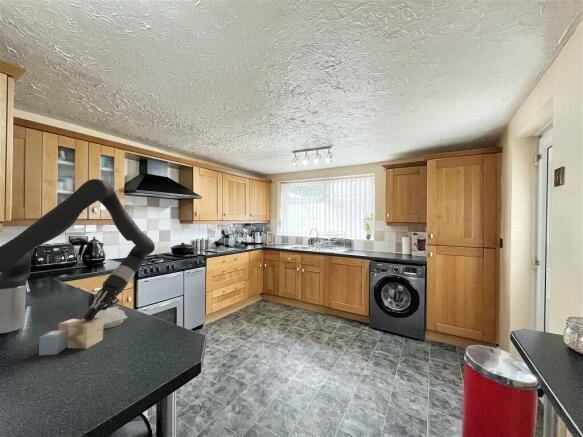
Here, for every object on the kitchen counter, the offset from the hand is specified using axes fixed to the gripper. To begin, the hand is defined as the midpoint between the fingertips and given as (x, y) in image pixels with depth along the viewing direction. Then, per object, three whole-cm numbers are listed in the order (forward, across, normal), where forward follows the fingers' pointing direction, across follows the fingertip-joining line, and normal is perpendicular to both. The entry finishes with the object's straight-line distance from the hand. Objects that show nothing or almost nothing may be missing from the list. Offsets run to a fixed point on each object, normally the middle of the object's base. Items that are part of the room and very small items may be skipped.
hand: (86, 319), depth 90 cm
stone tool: (-8, -14, +21) cm, 26 cm away
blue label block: (+11, -5, +1) cm, 12 cm away
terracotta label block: (+4, -11, +8) cm, 14 cm away
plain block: (+6, 0, +6) cm, 9 cm away
